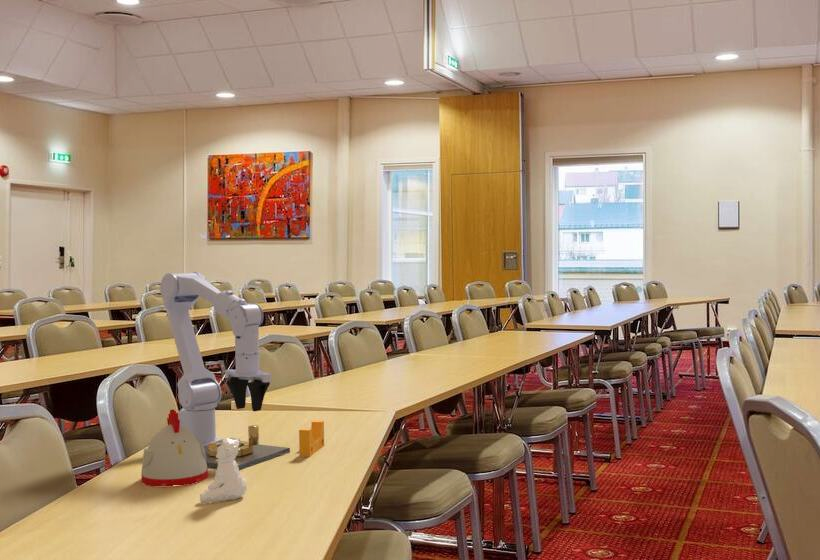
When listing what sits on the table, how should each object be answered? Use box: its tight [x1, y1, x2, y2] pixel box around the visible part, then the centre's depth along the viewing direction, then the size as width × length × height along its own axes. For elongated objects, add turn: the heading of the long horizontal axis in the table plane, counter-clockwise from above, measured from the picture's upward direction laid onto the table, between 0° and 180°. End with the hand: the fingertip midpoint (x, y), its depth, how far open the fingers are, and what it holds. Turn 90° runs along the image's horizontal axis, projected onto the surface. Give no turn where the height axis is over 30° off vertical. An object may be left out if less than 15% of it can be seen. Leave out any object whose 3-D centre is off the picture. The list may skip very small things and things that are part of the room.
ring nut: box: [207, 424, 260, 456], centre depth 218 cm, size 11×10×6 cm
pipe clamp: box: [298, 419, 325, 458], centre depth 223 cm, size 12×4×6 cm, turn 169°
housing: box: [204, 437, 291, 471], centre depth 218 cm, size 20×20×4 cm
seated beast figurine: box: [199, 437, 247, 504], centre depth 183 cm, size 10×9×12 cm
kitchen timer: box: [140, 409, 209, 487], centre depth 198 cm, size 14×14×15 cm
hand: (248, 409), depth 222 cm, fingers open, 5 cm apart
